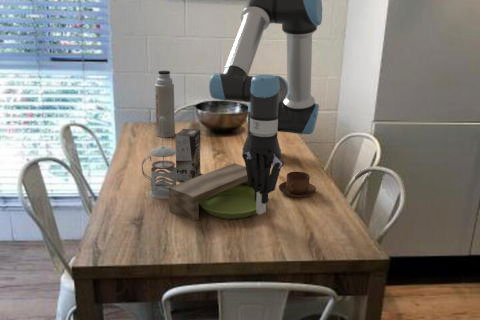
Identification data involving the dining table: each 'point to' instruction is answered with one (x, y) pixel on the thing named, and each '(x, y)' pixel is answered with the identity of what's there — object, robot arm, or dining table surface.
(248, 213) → the green plate
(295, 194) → the cup and saucer
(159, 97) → the thermos bottle
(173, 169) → the french press
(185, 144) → the coffee box
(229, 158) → the dining table surface
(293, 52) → the robot arm
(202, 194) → the stand
